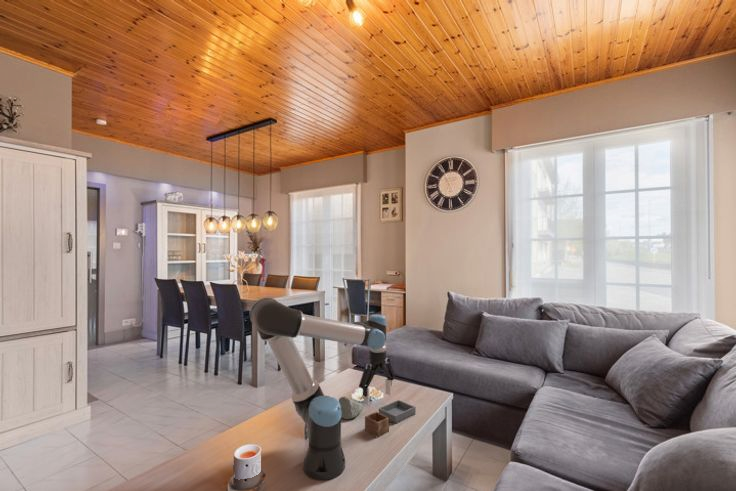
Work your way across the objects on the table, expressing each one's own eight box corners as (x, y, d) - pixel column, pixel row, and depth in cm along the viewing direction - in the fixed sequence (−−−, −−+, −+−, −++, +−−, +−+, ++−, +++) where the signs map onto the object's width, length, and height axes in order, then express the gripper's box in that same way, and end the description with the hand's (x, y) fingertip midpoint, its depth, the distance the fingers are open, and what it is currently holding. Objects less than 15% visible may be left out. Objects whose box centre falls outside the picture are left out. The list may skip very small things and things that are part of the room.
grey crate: (395, 424, 157) (395, 416, 157) (378, 415, 165) (378, 408, 165) (415, 414, 167) (415, 406, 167) (398, 406, 175) (398, 399, 175)
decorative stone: (340, 423, 157) (354, 405, 157) (329, 407, 165) (342, 389, 166) (357, 428, 165) (369, 411, 166) (345, 412, 173) (358, 396, 174)
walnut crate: (377, 437, 145) (377, 423, 146) (364, 430, 151) (365, 416, 151) (389, 431, 150) (389, 417, 150) (376, 424, 156) (376, 411, 156)
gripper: (362, 358, 140) (362, 410, 140) (402, 346, 157) (402, 393, 157) (350, 354, 146) (350, 404, 145) (390, 343, 163) (390, 388, 162)
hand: (377, 398), depth 151 cm, fingers open, 13 cm apart
